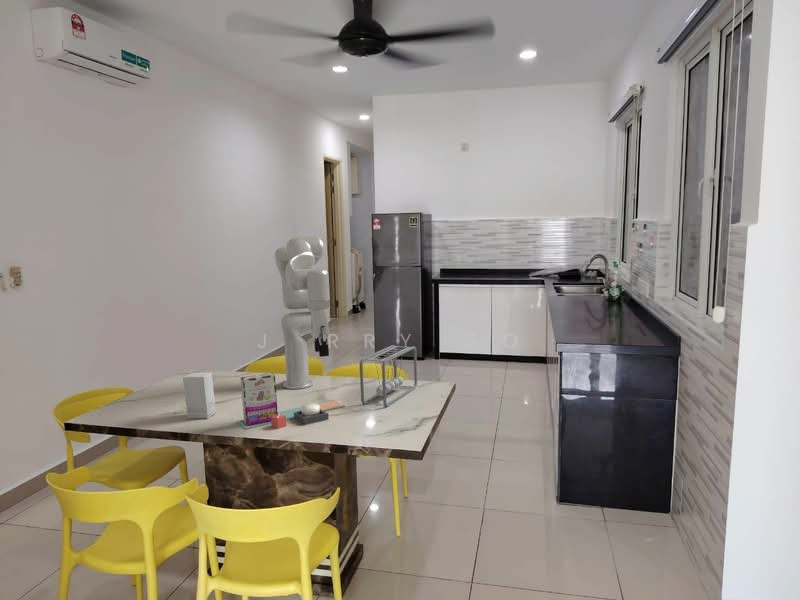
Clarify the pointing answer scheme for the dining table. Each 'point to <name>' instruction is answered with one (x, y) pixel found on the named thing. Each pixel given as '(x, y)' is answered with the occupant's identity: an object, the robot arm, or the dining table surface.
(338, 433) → the dining table surface
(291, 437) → the dining table surface
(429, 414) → the dining table surface
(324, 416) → the frame
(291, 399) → the dining table surface
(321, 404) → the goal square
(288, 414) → the track
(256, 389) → the candy bar box
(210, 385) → the skincare box
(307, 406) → the popper cap
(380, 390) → the newton's cradle
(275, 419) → the red die
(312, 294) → the robot arm
